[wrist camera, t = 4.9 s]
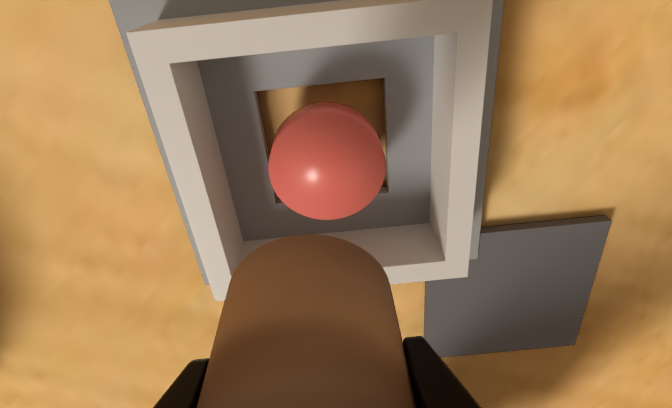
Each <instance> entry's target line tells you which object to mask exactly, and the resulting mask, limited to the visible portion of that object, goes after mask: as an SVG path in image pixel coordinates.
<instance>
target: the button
mask: <svg viewBox="0 0 672 408" xmlns="http://www.w3.org/2000/svg"><path fill="white" fill-rule="evenodd" d="M268 170H269V177H270V181H271V184H272V187H273V189H274V191H275V192H276V194H277V196H278V197H279V198H280V199H281V201H282V202H283V203H284V204H285V205H287V206H288V207H289V208H290V209H292V210H293V211H295V212H297V213H299V214H301V215H303V216H306V217H309V218H314V219H320V220H334V219H340V218H344V217H347V216H350V215H352V214H355V213H356V212H358V211H360V210H361V209H363V208H364V207H366V206H367V205H368V204H369V203H370V202H371V201H372V200H373V199H374V198H375V196H376V195H377V193H378V192H379V190H380V188H381V186H382V184H383V181H384V177H385V170H386V163H385V156H384V153H383V149H382V146H381V143H380V140H379V137H378V135H377V132H376V130H375V129H374V127H373V125H372V124H371V123H370V121H369V120H368V119H367V118H366V117H365V116H364V115H363V114H361V113H360V112H358V111H357V110H355V109H353V108H351V107H349V106H346V105H344V104H339V103H334V102H319V103H313V104H310V105H307V106H304V107H302V108H300V109H298V110H296V111H295V112H293V113H292V114H291V115H290V116H288V117H287V118H286V119H285V120H284V122H283V123H282V124H281V126H280V127H279V128H278V130H277V133H276V135H275V138H274V141H273V145H272V149H271V153H270V158H269V167H268Z"/></svg>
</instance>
